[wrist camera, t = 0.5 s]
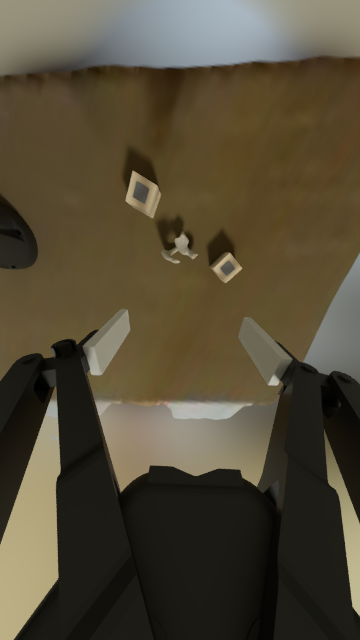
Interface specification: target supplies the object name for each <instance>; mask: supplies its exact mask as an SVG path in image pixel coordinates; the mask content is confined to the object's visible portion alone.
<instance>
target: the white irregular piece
mask: <svg viewBox="0 0 360 640" xmlns="http://www.w3.org/2000/svg"><path fill="white" fill-rule="evenodd" d="M174 242H175V245H176V247H175V248H173V249H171V250H169V251H167V250H164V249H163V250H162V251H161V254H162V255H163V257H164V258H165V259H166V260H169V261H171V262H173V263H180V262H181V261H179V260H176V259H174V258H172V257H171V256H172V255H173V254H174V253H176V252H177V251H179V252H180V253H181V254H183V255H188V256H190V258H191V259H194V258H195V257H196V256H197V255H198V254H197V253H196V252H195V250H190V249H189V248H188V247H187V244H188V242H189V240H188V238H187V237H186V236H185V233H184V232H183V231H182V232H181V235H180V237H179V238H176V239H175V240H174Z"/></svg>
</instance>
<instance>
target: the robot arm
mask: <svg viewBox="0 0 360 640" xmlns="http://www.w3.org/2000/svg"><path fill="white" fill-rule="evenodd" d="M36 258H37V244H36V241H35V238H34V236H33V234H32V232H31V230H30V228H29V227H28V226H27V224H26V223H25V222H24V220H23V219H22V218H21V217H20V216H19V215H18V214H17V213H15V212H14V211H13V210H12V209H10V208H9V207H7V206H5V205H3V204H1V203H0V268H5V269H23V268H28V267H30V266H32V265H33V264H34V262H35V261H36ZM129 332H130V325H129V316H128V309H120V310H119V311H118V312H117V313H116V314H115V315H114V316H113V317H112V318H111V319H110V320H109V321H108V322H107V323H106V324H105V325H104V326H103V327H102V328H101V329H100V330H95V331H93V332H91V333H89V334H88V335H87V337H85V338H84V340H82V341H81V342H80V343H79V344H76V341H75V340H73V339H66V340H61V341H58V342H57V343H55V344H53V345H52V346H51V351H52V353H53V355H54V357H52V358H45V359H44V358H43V356H42V355H41V354H38V353H35V354H30V355H26V356H24V357H22V358H20V359H18V360H17V361H16V362H15V363H14V364H13V365H12V367H11V368H10V369H9V371H8V372H7V373H6V375H5V376H4V377H3V379H2V380H1V381H0V544H1V541H2V538H3V534H4V532H5V529H6V526H7V523H8V520H9V517H10V514H11V511H12V509H13V506H14V503H15V500H16V497H17V494H18V491H19V489H20V486H21V483H22V480H23V477H24V474H25V471H26V468H27V465H28V462H29V460H30V456H31V454H32V451H33V448H34V445H35V442H36V439H37V436H38V433H39V431H40V428H41V425H42V422H43V419H44V416H45V413H46V410H47V407H48V405H49V402H50V399H51V396H52V393H53V390H54V387H55V386H56V387H57V406H58V424H59V444H60V464H61V472H60V475H59V476H58V478H57V482H56V499H57V500H56V502H57V503H56V504H57V534H58V535H57V537H58V572H59V578H58V580H57V581H56V582H55V584H54V585H53V587H52V588H51V589H50V591H49V592H48V593H47V595H46V596H45V598H44V599H43V600H42V602H41V603H40V604H39V606H38V607H37V608H36V610H35V611H34V613H33V614H32V615H31V617H30V618H29V620H28V621H27V622H26V624H25V625H24V626H23V628H22V629H21V631H20V632H19V633H18V635H17V636H16V637H15V639H14V640H360V616H359V615H358V614H357V612H356V611H355V610H354V608H353V607H352V600H351V591H350V583H349V574H348V566H347V558H346V550H345V541H344V533H343V524H342V517H341V507H340V501H339V496H338V494H337V492H336V490H335V489H334V488H332V487H331V486H330V485H329V483H328V479H327V466H326V454H325V440H324V430H325V433H326V435H327V438H328V441H329V443H330V446H331V448H332V451H333V454H334V456H335V459H336V462H337V464H338V467H339V469H340V472H341V475H342V478H343V480H344V483H345V486H346V488H347V491H348V493H349V496H350V499H351V501H352V504H353V507H354V509H355V512H356V514H357V517H358V520H359V522H360V384H359V383H358V382H357V381H356V380H355V379H353V378H351V376H349V375H347V374H345V373H341V372H338V371H333V372H331V373H330V375H325V374H321V373H319V372H318V371H317V370H316V369H315V368H314V367H312V366H311V365H309V364H306V363H302V362H299V361H298V360H297V359H296V358H295V357H294V356H293V355H292V354H291V353H290V352H288V350H286V349H285V348H284V347H283V346H282V345H281V344H280V343H278V342H276V341H274V340H273V339H272V338H271V337H270V336H269V335H268V334H267V333H266V332H265V331H264V330H263V329H262V328H261V327H260V326H259V325H258V324H257V323H256V322H255V321H254V320H253V319H252V318H248V317H244V319H243V323H242V326H241V329H240V332H239V335H238V338H239V340H240V342H241V343H242V345H243V346H244V348H245V350H246V351H247V353H248V354H249V356H250V357H251V359H252V361H253V362H254V364H255V365H256V367H257V369H258V370H259V372H260V373H261V375H262V376H263V378H264V380H265V381H266V383H267V384H268V385H278V384H279V382H280V380H281V381H282V383H283V384H284V385H283V386H282V388H281V390H280V391H279V393H278V394H279V395H280V398H279V403H278V407H277V411H276V416H275V420H274V424H273V429H272V433H271V438H270V442H269V446H268V451H267V455H266V460H265V465H264V469H263V473H262V476H261V479H260V481H259V483H258V486H257V487H256V486H255V485H253V484H252V483H251V482H248V481H247V480H245V479H244V478H242V475H241V471H240V470H234V469H216V470H213V471H211V472H208V473H205V474H202V475H199V476H193V475H191V474H188V473H186V472H184V471H181V470H179V469H177V468H174V467H170V466H169V467H168V466H150V468H149V473H146V474H143V475H141V476H140V477H138V478H136V479H135V480H134V481H132V482H131V483H130V484H129V485H128V486H127V487H126V488H125V489H124V490H123V491H122V492H120V488H119V485H118V481H117V478H116V475H115V472H114V468H113V465H112V461H111V458H110V454H109V451H108V447H107V444H106V441H105V437H104V433H103V430H102V426H101V422H100V419H99V415H98V412H97V408H96V405H95V401H94V398H93V394H92V390H91V387H90V383H89V380H88V376H87V372H88V371H89V370H90V371H91V374H92V375H102V374H103V372H104V371H105V369H106V367H107V366H108V364H109V363H110V361H111V360H112V358H113V357H114V355H115V353H116V352H117V350H118V349H119V347H120V346H121V344H122V342H123V341H124V339H125V338H126V336H127V335H128V333H129Z"/></svg>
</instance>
